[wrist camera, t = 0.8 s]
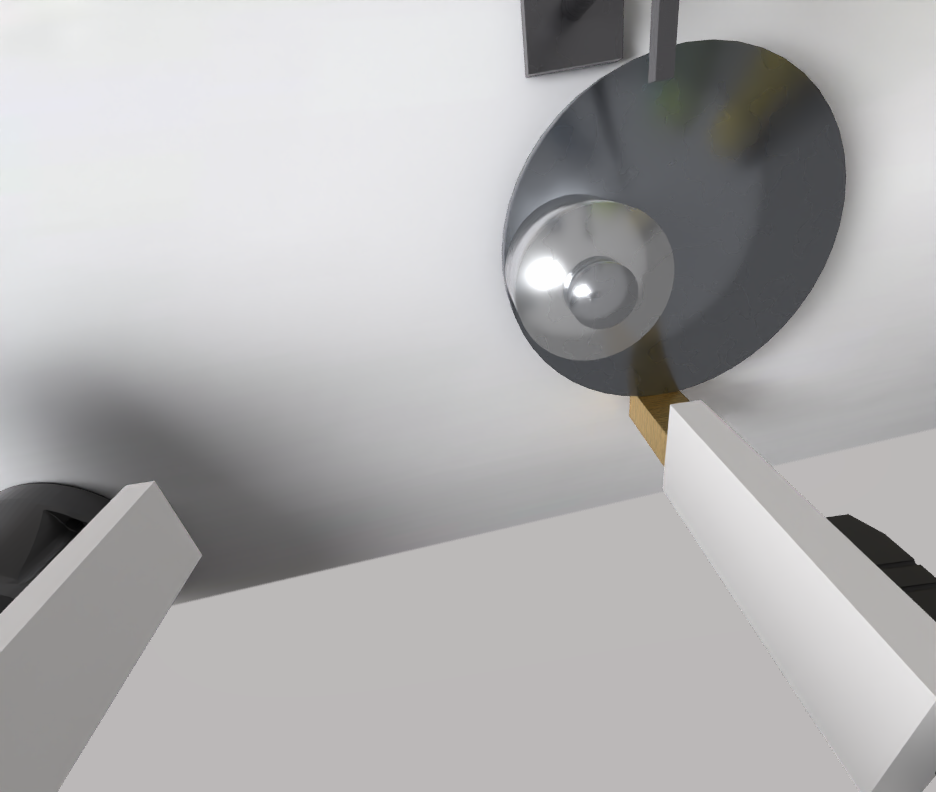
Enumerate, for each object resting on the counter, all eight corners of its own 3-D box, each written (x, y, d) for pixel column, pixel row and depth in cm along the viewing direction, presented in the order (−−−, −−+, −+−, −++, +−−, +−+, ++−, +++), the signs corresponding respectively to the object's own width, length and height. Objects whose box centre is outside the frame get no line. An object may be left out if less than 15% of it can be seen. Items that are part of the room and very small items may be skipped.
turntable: (519, 431, 34) (535, 492, 28) (482, 81, 23) (494, 54, 17) (780, 394, 33) (855, 448, 27) (869, 14, 22) (1028, -40, 16)
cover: (511, 337, 28) (527, 383, 23) (498, 206, 25) (512, 221, 19) (634, 318, 28) (681, 361, 22) (639, 183, 24) (699, 191, 19)
